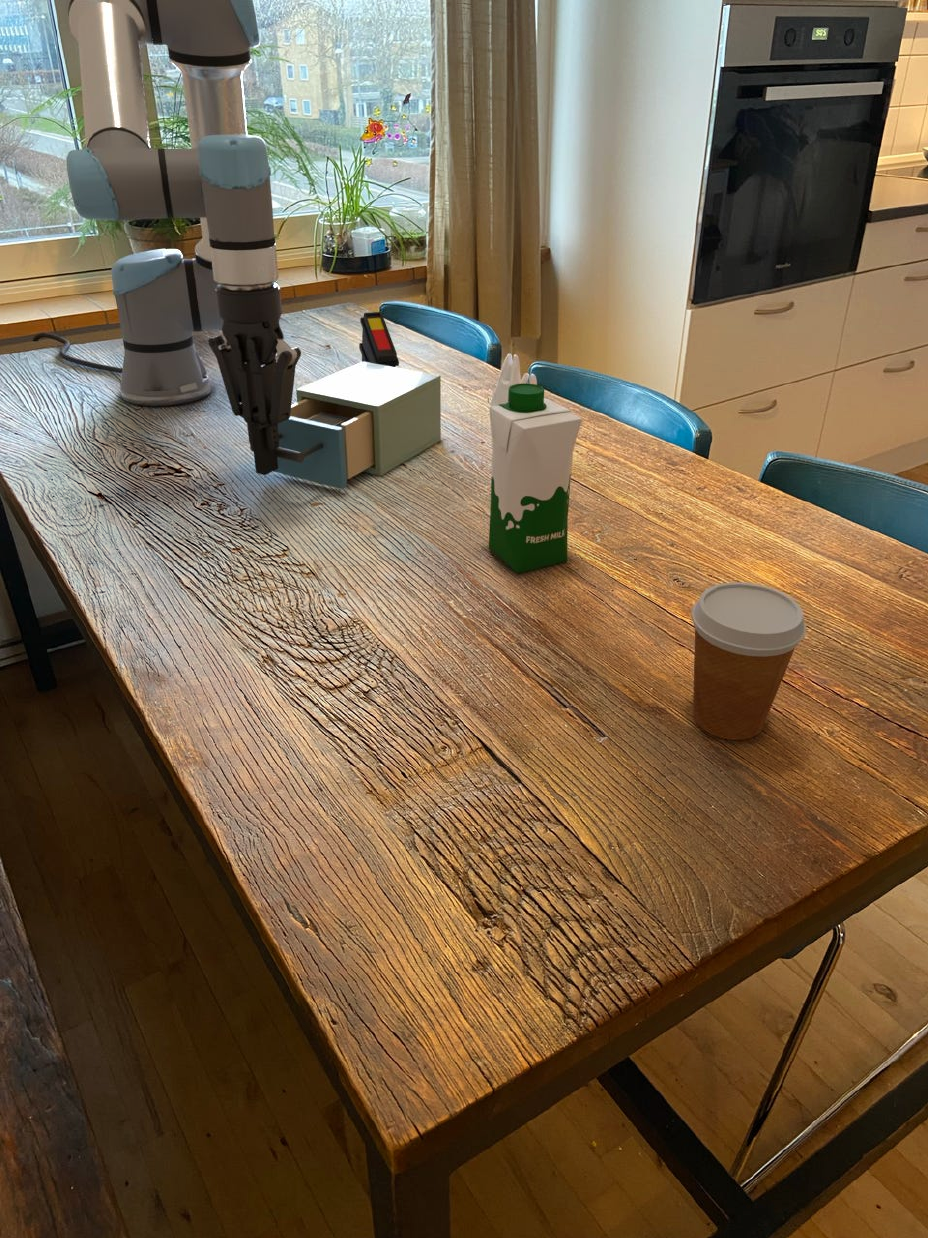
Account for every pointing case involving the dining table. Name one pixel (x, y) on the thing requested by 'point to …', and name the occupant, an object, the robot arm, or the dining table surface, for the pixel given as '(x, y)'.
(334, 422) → the cream box
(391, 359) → the black switch panel
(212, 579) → the dining table surface
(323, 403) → the drawer
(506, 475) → the milk carton
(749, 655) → the disposable coffee cup
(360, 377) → the cabinet
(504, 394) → the shaker set
